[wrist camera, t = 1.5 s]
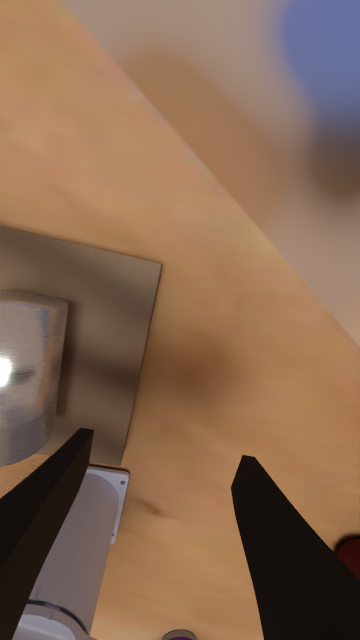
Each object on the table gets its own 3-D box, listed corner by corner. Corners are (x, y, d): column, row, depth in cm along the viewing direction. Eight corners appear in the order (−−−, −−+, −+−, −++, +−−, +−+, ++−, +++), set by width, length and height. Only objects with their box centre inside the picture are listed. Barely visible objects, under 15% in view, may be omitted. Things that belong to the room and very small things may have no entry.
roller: (63, 415, 18) (33, 469, 13) (-3, 408, 17) (-62, 464, 12) (78, 300, 16) (48, 315, 11) (3, 286, 15) (-65, 295, 10)
